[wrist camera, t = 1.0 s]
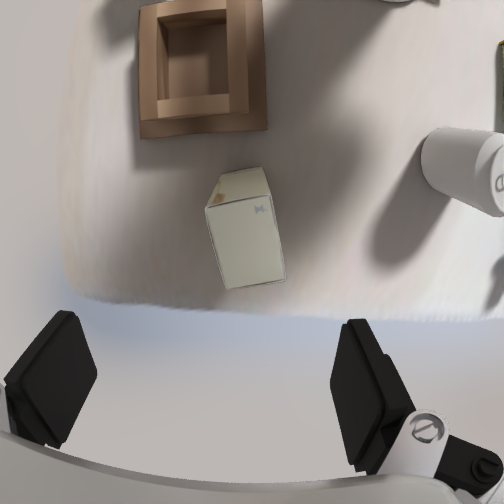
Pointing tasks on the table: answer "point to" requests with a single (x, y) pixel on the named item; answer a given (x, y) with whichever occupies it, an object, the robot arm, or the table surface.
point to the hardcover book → (503, 44)
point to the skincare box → (245, 230)
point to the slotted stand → (201, 67)
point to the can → (466, 166)
